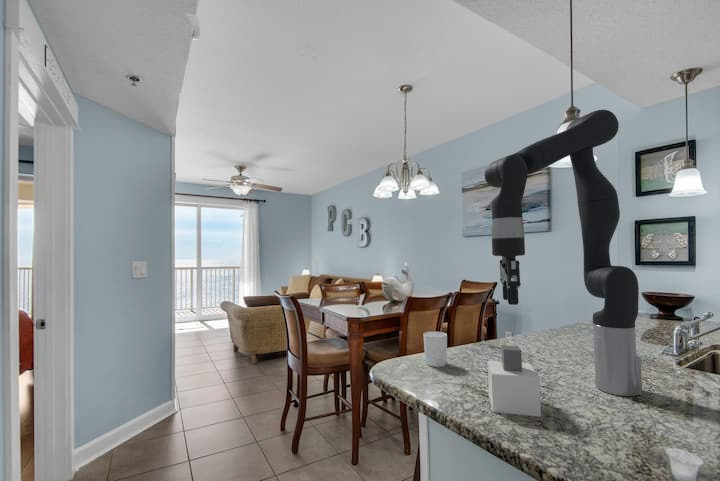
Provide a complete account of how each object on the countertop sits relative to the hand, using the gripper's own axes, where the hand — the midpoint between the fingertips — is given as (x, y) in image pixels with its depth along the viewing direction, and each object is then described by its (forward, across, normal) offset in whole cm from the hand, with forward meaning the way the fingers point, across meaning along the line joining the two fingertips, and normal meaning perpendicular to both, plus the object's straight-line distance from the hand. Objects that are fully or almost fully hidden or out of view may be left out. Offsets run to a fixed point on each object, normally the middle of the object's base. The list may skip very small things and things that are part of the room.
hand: (510, 302), depth 85 cm
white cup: (+25, +28, +20) cm, 43 cm away
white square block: (+25, 0, 0) cm, 25 cm away
